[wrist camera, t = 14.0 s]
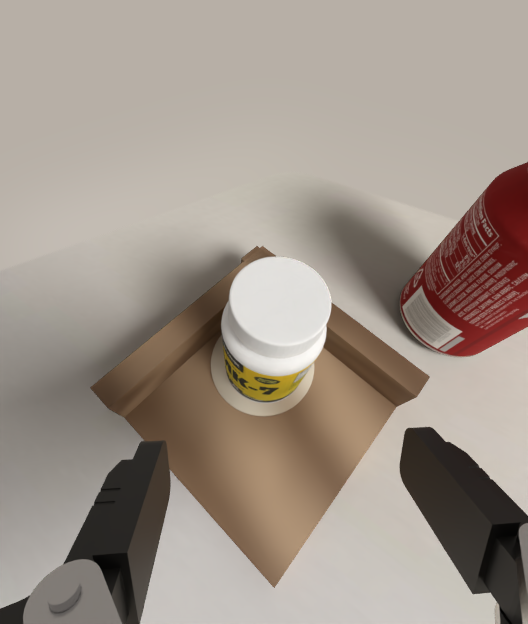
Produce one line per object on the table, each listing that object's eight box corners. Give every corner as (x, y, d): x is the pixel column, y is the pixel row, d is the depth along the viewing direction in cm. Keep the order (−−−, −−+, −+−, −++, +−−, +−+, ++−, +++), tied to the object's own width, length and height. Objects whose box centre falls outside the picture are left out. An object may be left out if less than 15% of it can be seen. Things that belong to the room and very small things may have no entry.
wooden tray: (272, 582, 16) (280, 606, 13) (111, 400, 19) (87, 384, 16) (403, 389, 21) (431, 373, 18) (257, 274, 24) (259, 243, 21)
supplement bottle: (209, 372, 19) (190, 303, 12) (256, 317, 21) (266, 228, 14) (273, 422, 18) (298, 382, 11) (317, 359, 20) (364, 288, 12)
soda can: (422, 371, 21) (599, 263, 11) (379, 288, 24) (486, 141, 14) (505, 348, 23) (735, 231, 12) (454, 272, 26) (604, 126, 15)
